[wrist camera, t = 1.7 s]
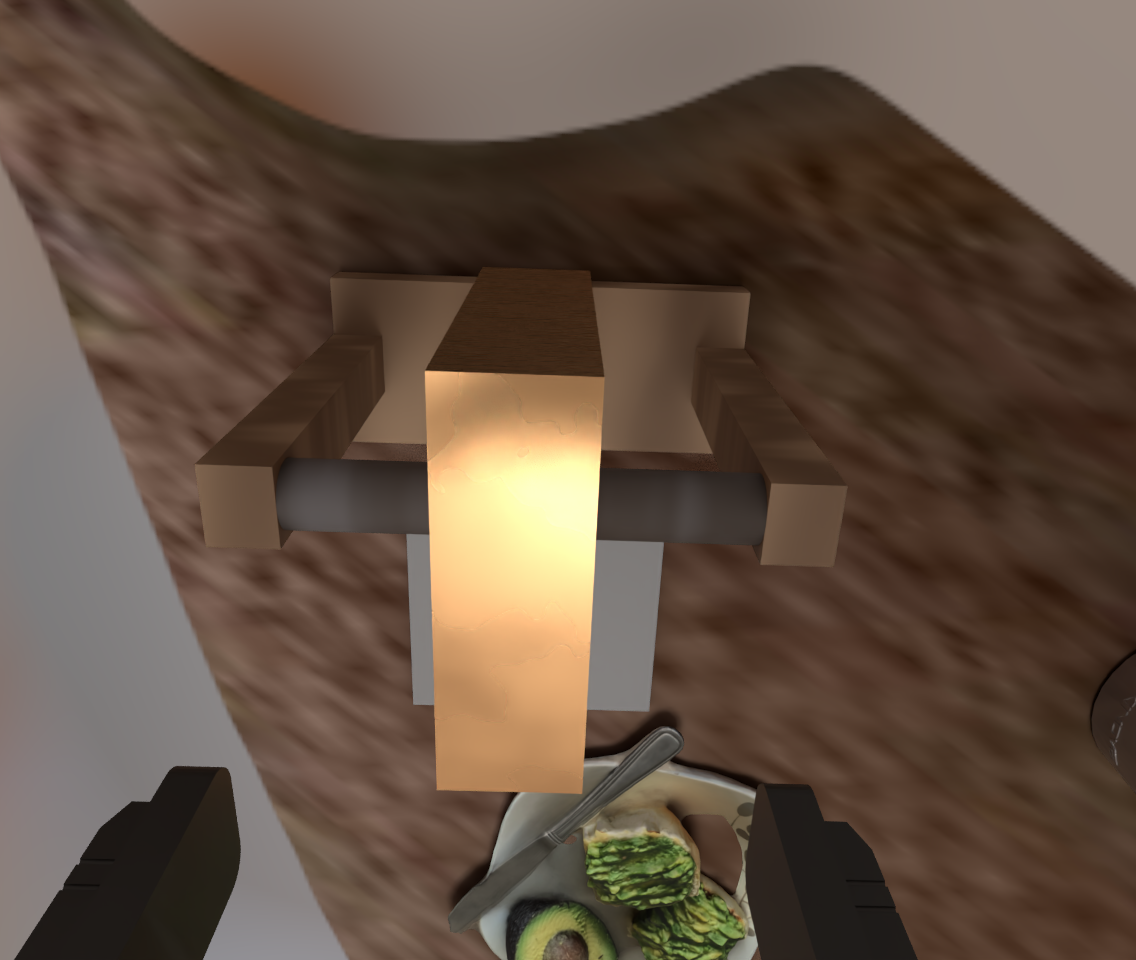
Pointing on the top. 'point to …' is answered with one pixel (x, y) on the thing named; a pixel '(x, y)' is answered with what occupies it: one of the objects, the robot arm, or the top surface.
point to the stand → (630, 423)
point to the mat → (616, 624)
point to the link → (514, 529)
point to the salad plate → (615, 866)
